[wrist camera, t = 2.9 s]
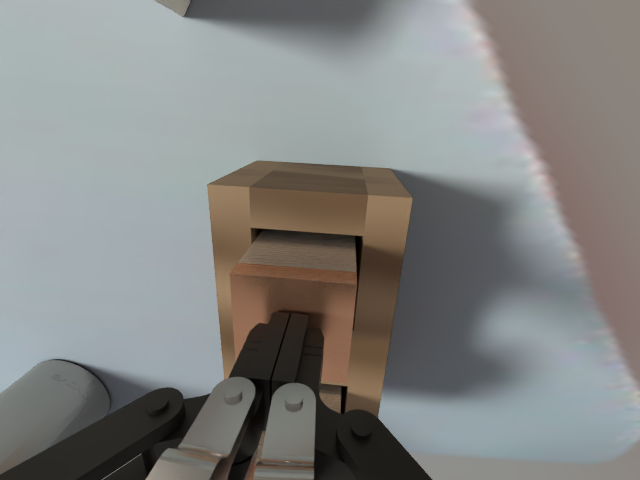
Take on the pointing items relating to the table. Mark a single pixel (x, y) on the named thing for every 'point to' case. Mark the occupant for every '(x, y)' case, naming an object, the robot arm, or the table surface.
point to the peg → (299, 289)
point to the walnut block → (321, 217)
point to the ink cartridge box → (176, 5)
